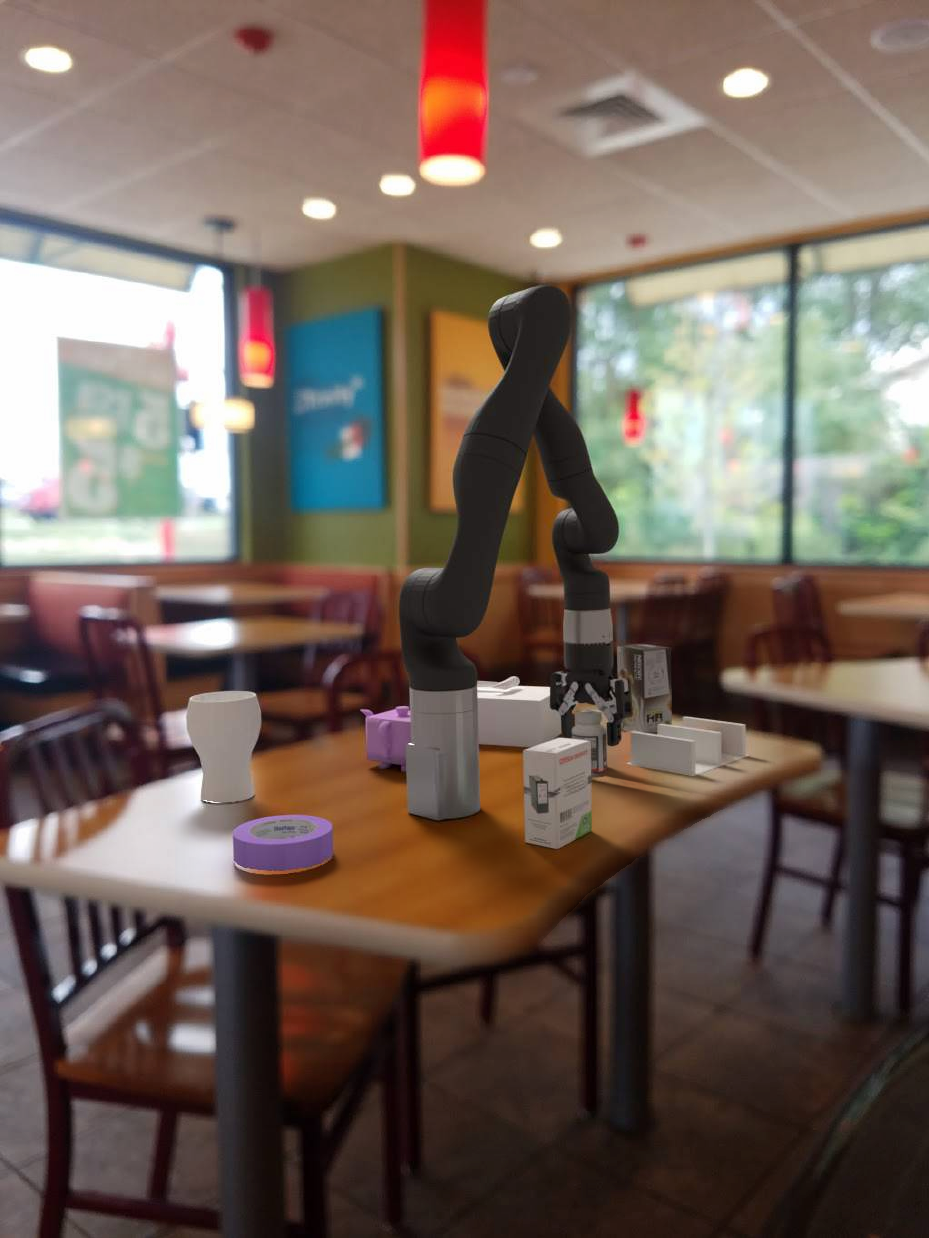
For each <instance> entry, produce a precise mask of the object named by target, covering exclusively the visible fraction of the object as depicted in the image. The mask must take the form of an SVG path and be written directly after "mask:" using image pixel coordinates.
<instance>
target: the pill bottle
mask: <svg viewBox="0 0 929 1238" xmlns="http://www.w3.org/2000/svg"><path fill="white" fill-rule="evenodd" d="M602 713H603V712H602V711H601V710H599V709H598V710H597V709H580V710H577V711H576V712H575V723H576V722H577V724H575V726H574V727H573V728H572V738H571V739H578V740H586V741H590V742H591V778H600V777H604V774H599V773H597V772H603V771H605V770H607V768H608V757H607V756H608V753H607V752H608V751H607V746H608V745H607V727H605V726H604V725H603V724H601V722H602V721H603V717H602Z"/></svg>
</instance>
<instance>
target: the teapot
mask: <svg viewBox="0 0 929 1238" xmlns="http://www.w3.org/2000/svg"><path fill="white" fill-rule="evenodd" d="M360 712H361V713H363V714H364V715H365V737H366V739H365V742H366V761H369V762H376V763H377V762H378V763H379V765H378V766H377V768H378V769H389V768H391V765H397V766H398V765H399V766H401V767H400V771H401V772H402V773H407V771H406V745H407V744H409V743H411V720H410V706H406V705H403V706H402V705H401V706H400V705H399V706H396V707H395V709H392V710H388V711H384V712H380V713H377V714H374V712H372V711H371V710H370V709H365V708H364V709H362V708H361V709H360Z"/></svg>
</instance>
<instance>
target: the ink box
mask: <svg viewBox="0 0 929 1238" xmlns="http://www.w3.org/2000/svg"><path fill="white" fill-rule="evenodd" d="M522 759H523V760H522V764H523V765H522V766H523V767H522V768H523V771H522V772H523V806H524V807H523V809H524V810H523V813H524V814H523V816H524V842H525V843H526V844H532V845H536V846H542V847H545V848H550V849H555V850H560V848H563V847H564V846H566V845H568V844H570V843H572V842H573V841H575V840H577V839H579V838H581V837H583V836H584V835H585V836H586V835H587V834H588V833H590V832H591V831H592V827H593V825H592V823H593V821H592V817H593V816H592V777H591V773H592V772H591V742H590V741H586V740H578V739H572V738H570V739H568V738H564V737H556V738H554V739H553V740H551V741H548V742H545V743H542V744H540V745H537V746H534V747H527V748H526V749H524V750H522Z"/></svg>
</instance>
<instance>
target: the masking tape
mask: <svg viewBox="0 0 929 1238" xmlns="http://www.w3.org/2000/svg"><path fill="white" fill-rule="evenodd" d="M333 829H334V828H333V823H332V822H331V821H329V820H327V819H326V818H322V817H318V816H313V815H304V814H285V815H274V816H273V815H272V816H266V817H261V818H257V819H253V820H249V821H247V822H244V823H242V824H240V825H238V826H237V827H236V828H234V829H233V831H232V845H233V846H232V847H233V848H232V849H233V850H232V851H233V854H232V855H233V862H234V861H235V862H236V863H237V864H238V865H240V866H242V867H244V868H250V869H257V870H265V871H266V870H267V871H272V870H273V871H285V870H293V869H299V868H308V867H312V866H315V865H318V864H321V863H322V862H324V861H326V860H328V859H329V858H331V857H332V855H333V856H334V830H333ZM332 858H333V857H332Z"/></svg>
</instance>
